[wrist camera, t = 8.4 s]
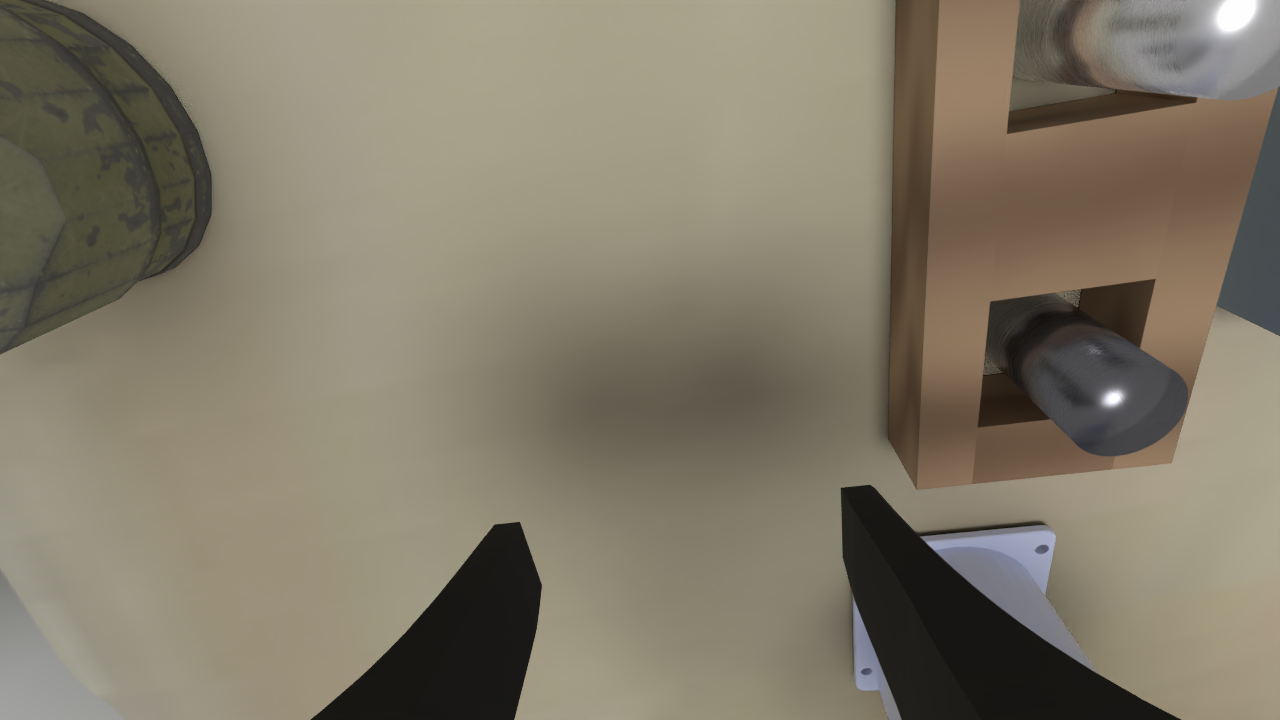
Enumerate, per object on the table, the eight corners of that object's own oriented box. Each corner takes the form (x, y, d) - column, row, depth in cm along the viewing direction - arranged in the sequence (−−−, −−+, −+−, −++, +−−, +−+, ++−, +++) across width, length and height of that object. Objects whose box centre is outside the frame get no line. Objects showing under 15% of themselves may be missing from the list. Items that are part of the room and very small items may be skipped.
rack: (1111, 413, 22) (1171, 463, 20) (888, 438, 23) (916, 489, 21) (1250, -228, 14) (1385, -290, 12) (899, -149, 15) (948, -190, 12)
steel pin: (1095, 64, 17) (1337, 76, 11) (990, 91, 18) (1167, 118, 11) (1102, -50, 16) (1381, -110, 10) (990, -18, 16) (1188, -56, 10)
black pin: (1047, 348, 21) (1174, 450, 16) (964, 358, 22) (1061, 462, 16) (1058, 273, 20) (1201, 357, 15) (970, 285, 20) (1077, 372, 15)
